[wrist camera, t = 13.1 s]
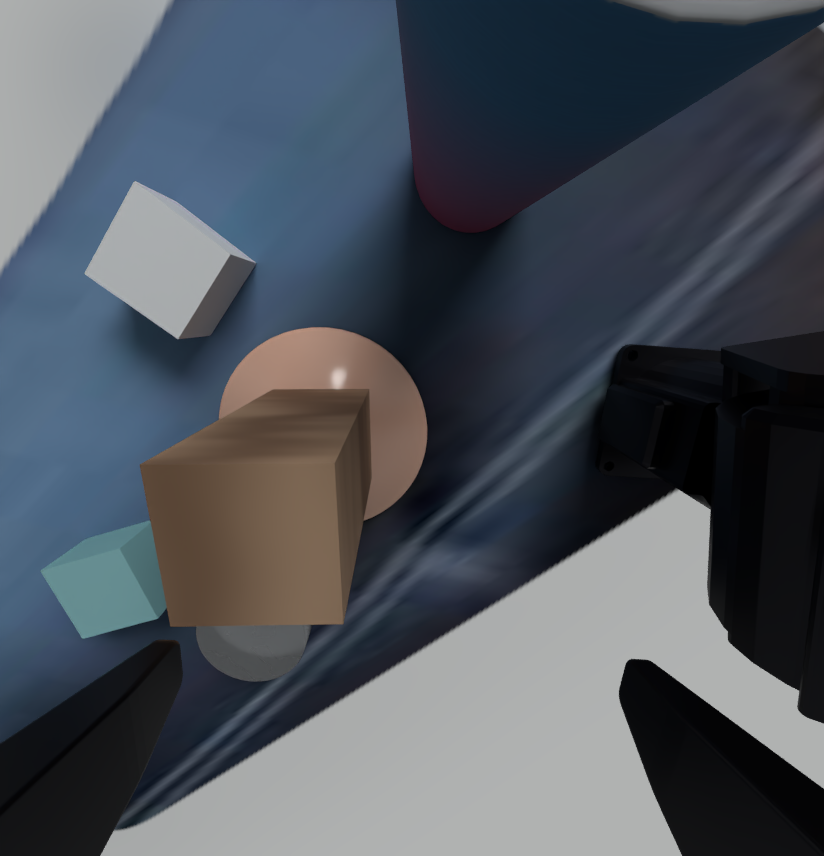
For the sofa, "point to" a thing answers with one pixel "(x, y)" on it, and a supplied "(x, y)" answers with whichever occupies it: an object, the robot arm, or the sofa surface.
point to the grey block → (169, 264)
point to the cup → (561, 86)
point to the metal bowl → (253, 649)
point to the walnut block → (264, 511)
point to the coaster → (344, 369)
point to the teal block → (109, 581)
